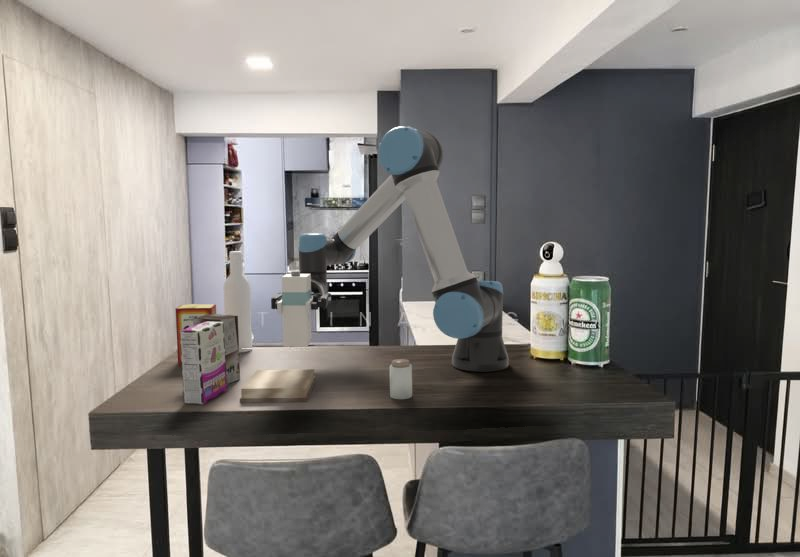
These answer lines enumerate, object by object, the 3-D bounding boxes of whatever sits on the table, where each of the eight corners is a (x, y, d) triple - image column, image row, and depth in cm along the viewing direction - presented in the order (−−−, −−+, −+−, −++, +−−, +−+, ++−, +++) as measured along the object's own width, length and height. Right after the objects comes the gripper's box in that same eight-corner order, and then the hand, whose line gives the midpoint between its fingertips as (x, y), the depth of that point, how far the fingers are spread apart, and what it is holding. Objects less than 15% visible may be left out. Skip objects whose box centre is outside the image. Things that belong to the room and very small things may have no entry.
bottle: (248, 353, 180) (245, 252, 177) (222, 353, 180) (218, 252, 177) (255, 347, 188) (252, 250, 185) (230, 347, 188) (226, 250, 185)
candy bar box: (208, 389, 142) (205, 320, 141) (227, 390, 141) (225, 321, 140) (181, 404, 132) (178, 329, 130) (202, 405, 131) (199, 330, 129)
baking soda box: (217, 358, 174) (215, 303, 172) (213, 363, 167) (211, 306, 166) (183, 359, 173) (181, 303, 171) (178, 365, 166) (175, 307, 165)
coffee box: (241, 379, 151) (239, 315, 150) (223, 385, 146) (221, 319, 144) (213, 375, 155) (210, 313, 154) (194, 381, 149) (192, 316, 148)
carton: (311, 340, 145) (310, 269, 143) (307, 346, 138) (306, 272, 136) (288, 340, 145) (287, 269, 143) (282, 346, 138) (281, 272, 136)
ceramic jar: (411, 392, 139) (411, 358, 138) (412, 399, 134) (412, 363, 133) (389, 393, 139) (389, 358, 138) (390, 399, 134) (389, 364, 133)
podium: (315, 381, 149) (315, 369, 149) (306, 401, 133) (306, 388, 132) (256, 381, 149) (255, 369, 149) (239, 402, 132) (239, 389, 132)
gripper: (343, 308, 159) (334, 325, 136) (272, 308, 159) (251, 325, 136) (343, 280, 158) (334, 292, 135) (272, 280, 158) (251, 292, 135)
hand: (293, 308), depth 136 cm, fingers closed on carton, 6 cm apart
